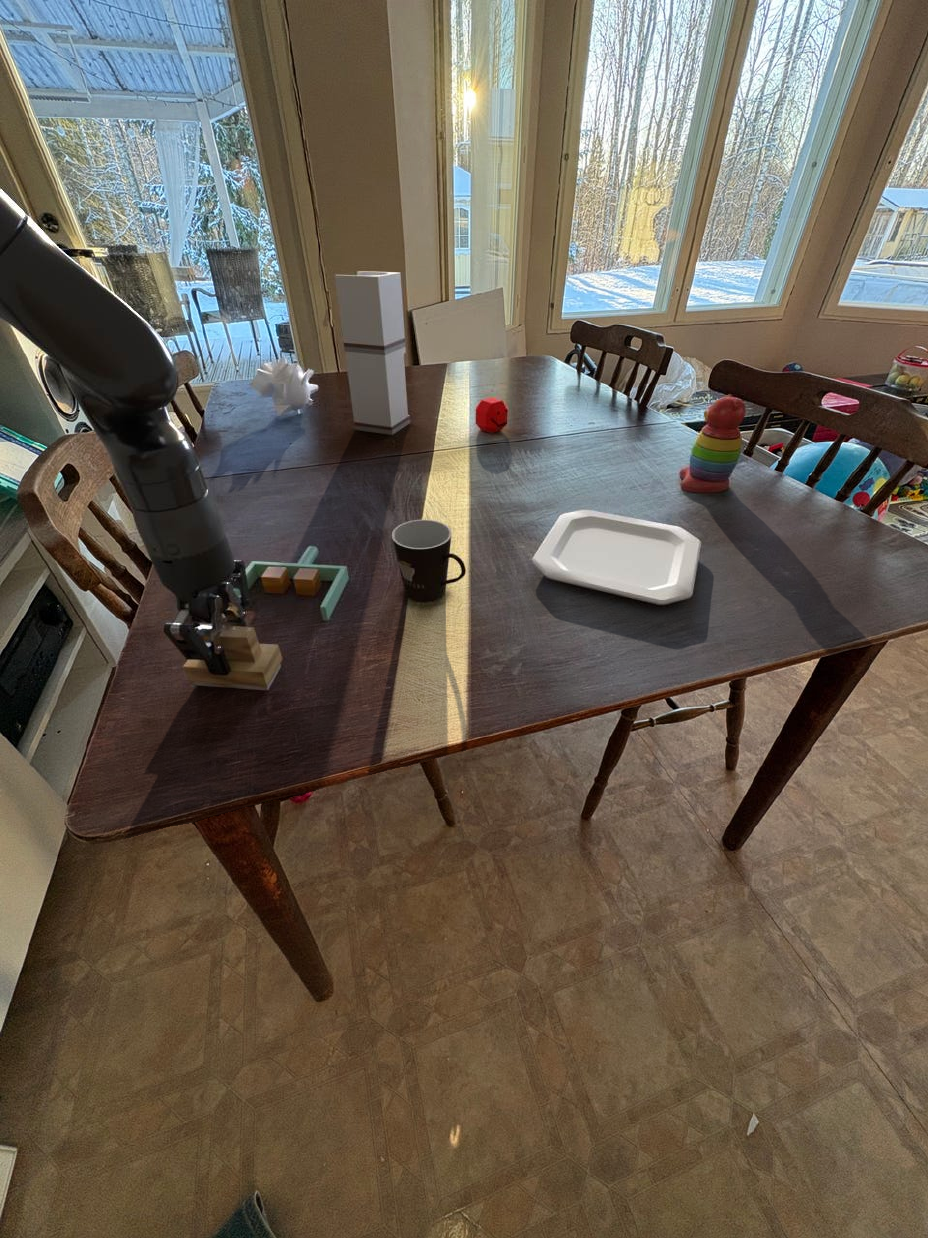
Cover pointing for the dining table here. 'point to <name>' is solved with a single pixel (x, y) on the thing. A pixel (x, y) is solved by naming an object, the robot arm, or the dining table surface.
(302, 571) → the crumb
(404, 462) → the dining table surface
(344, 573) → the green u-shaped pusher
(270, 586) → the crumb
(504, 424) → the ball
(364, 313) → the white banded pillar
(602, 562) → the plate
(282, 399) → the white spiky ornament
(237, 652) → the stepped wooden block
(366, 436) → the dining table surface
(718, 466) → the stacking bear
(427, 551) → the coffee mug
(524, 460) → the dining table surface
